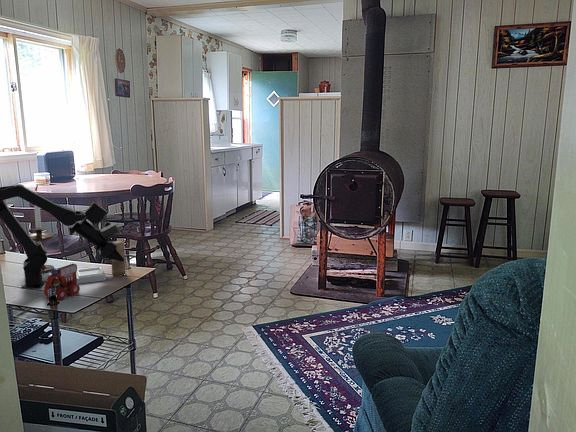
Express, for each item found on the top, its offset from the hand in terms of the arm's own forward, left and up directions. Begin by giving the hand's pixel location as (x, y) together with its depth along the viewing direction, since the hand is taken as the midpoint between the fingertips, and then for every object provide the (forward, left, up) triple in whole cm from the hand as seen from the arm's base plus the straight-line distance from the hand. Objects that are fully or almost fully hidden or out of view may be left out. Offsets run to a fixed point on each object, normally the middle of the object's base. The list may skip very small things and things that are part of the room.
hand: (121, 257), depth 184 cm
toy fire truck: (-24, +14, -7) cm, 28 cm away
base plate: (-5, +11, -7) cm, 14 cm away
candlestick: (+5, +33, -7) cm, 34 cm away
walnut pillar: (-1, +1, -7) cm, 7 cm away
